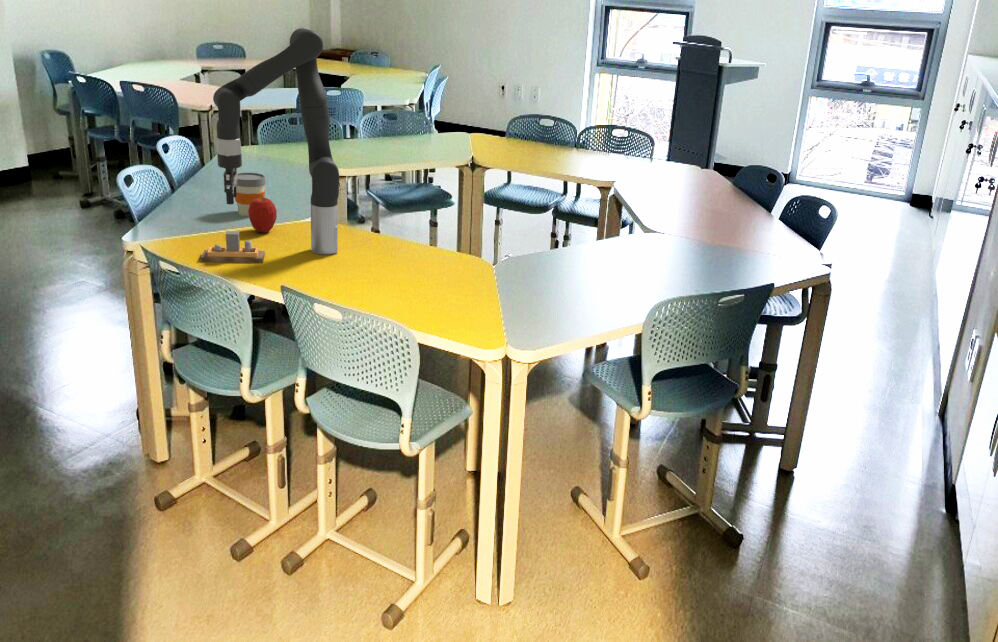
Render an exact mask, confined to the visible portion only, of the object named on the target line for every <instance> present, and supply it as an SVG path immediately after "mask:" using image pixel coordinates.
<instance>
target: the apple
mask: <svg viewBox="0 0 998 642" xmlns="http://www.w3.org/2000/svg"><path fill="white" fill-rule="evenodd" d="M262 197H263V196H262ZM248 213H249V216H248V219H249V222H250V223H251V226H252V228H253V229H254V230H255V231H257V232H258V233H265V234H266V233H269V232H270V231H271V230H272V229H273V227H274V226H275V223H276V220H277V208H276V206H275V204H274V202H273V201H272V200H271V199H269V198H267V197H265V198H257V199H255V200H253V202H252V203H251V204H250V206H249V209H248Z"/></svg>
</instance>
